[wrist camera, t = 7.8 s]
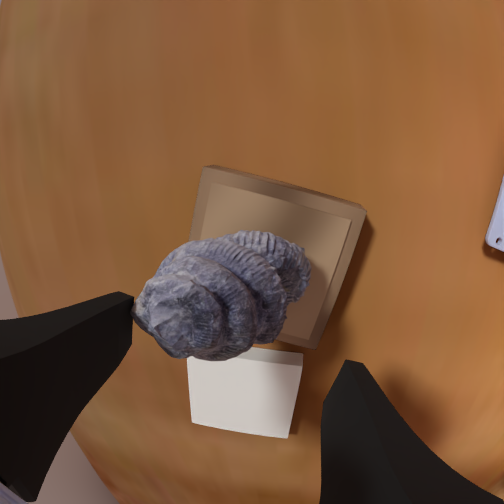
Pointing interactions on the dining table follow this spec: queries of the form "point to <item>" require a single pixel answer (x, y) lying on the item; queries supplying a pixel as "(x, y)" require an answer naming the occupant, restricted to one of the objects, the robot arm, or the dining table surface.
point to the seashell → (222, 294)
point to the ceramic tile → (246, 391)
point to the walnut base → (285, 235)
